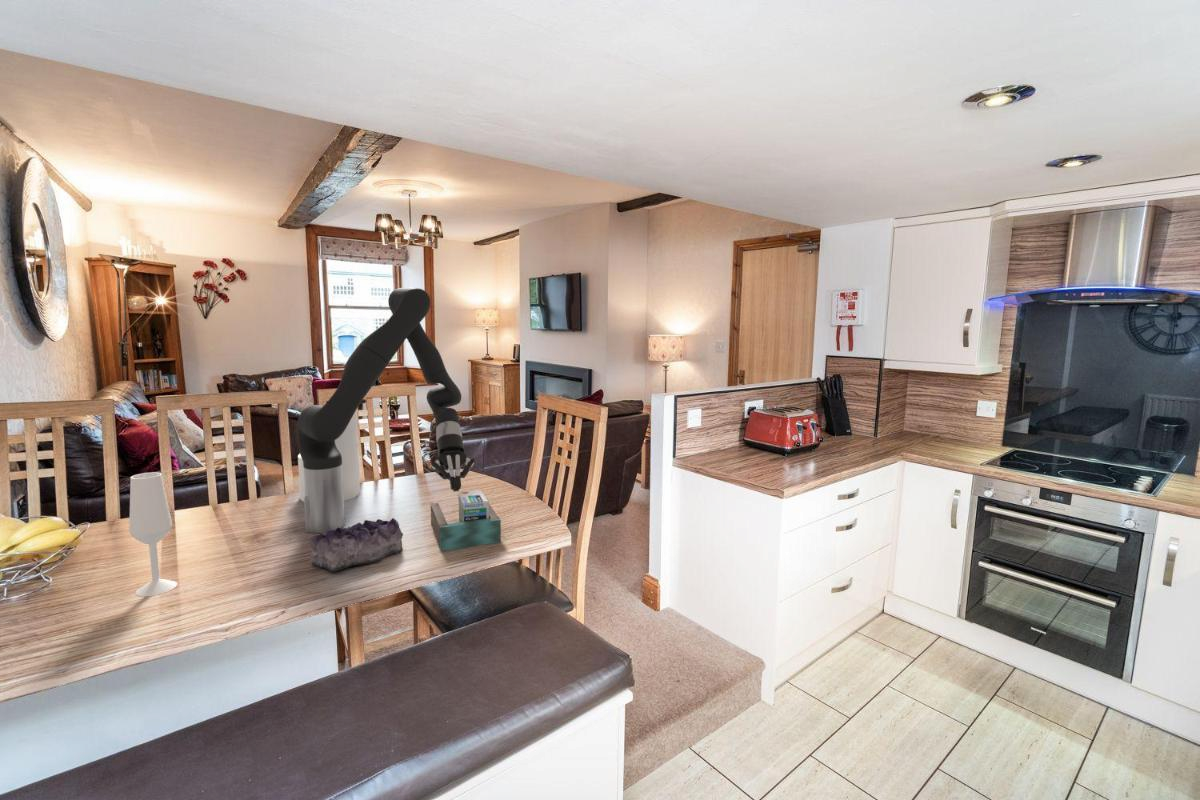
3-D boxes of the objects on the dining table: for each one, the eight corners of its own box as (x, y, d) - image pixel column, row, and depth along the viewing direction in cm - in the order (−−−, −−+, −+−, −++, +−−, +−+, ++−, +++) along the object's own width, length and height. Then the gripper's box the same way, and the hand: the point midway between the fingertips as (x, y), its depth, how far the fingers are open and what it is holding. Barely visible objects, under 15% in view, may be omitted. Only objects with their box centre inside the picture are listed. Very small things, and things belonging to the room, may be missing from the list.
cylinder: (371, 493, 175) (368, 408, 171) (320, 507, 160) (315, 415, 156) (340, 484, 184) (336, 403, 180) (289, 496, 169) (284, 409, 166)
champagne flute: (180, 588, 110) (171, 475, 107) (138, 599, 105) (126, 482, 102) (173, 577, 115) (164, 469, 112) (132, 588, 110) (121, 475, 107)
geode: (390, 540, 138) (393, 504, 136) (410, 560, 130) (413, 522, 128) (304, 559, 124) (305, 519, 122) (319, 583, 116) (321, 541, 114)
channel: (440, 550, 131) (440, 527, 131) (431, 524, 149) (430, 503, 148) (500, 542, 138) (500, 519, 137) (484, 517, 155) (484, 497, 154)
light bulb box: (490, 541, 138) (489, 500, 137) (463, 544, 136) (463, 503, 134) (482, 526, 148) (482, 489, 147) (457, 529, 146) (457, 491, 144)
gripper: (427, 434, 157) (433, 485, 147) (473, 431, 162) (481, 481, 152) (426, 447, 162) (431, 498, 153) (470, 445, 167) (478, 494, 158)
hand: (456, 490), depth 153 cm, fingers closed
